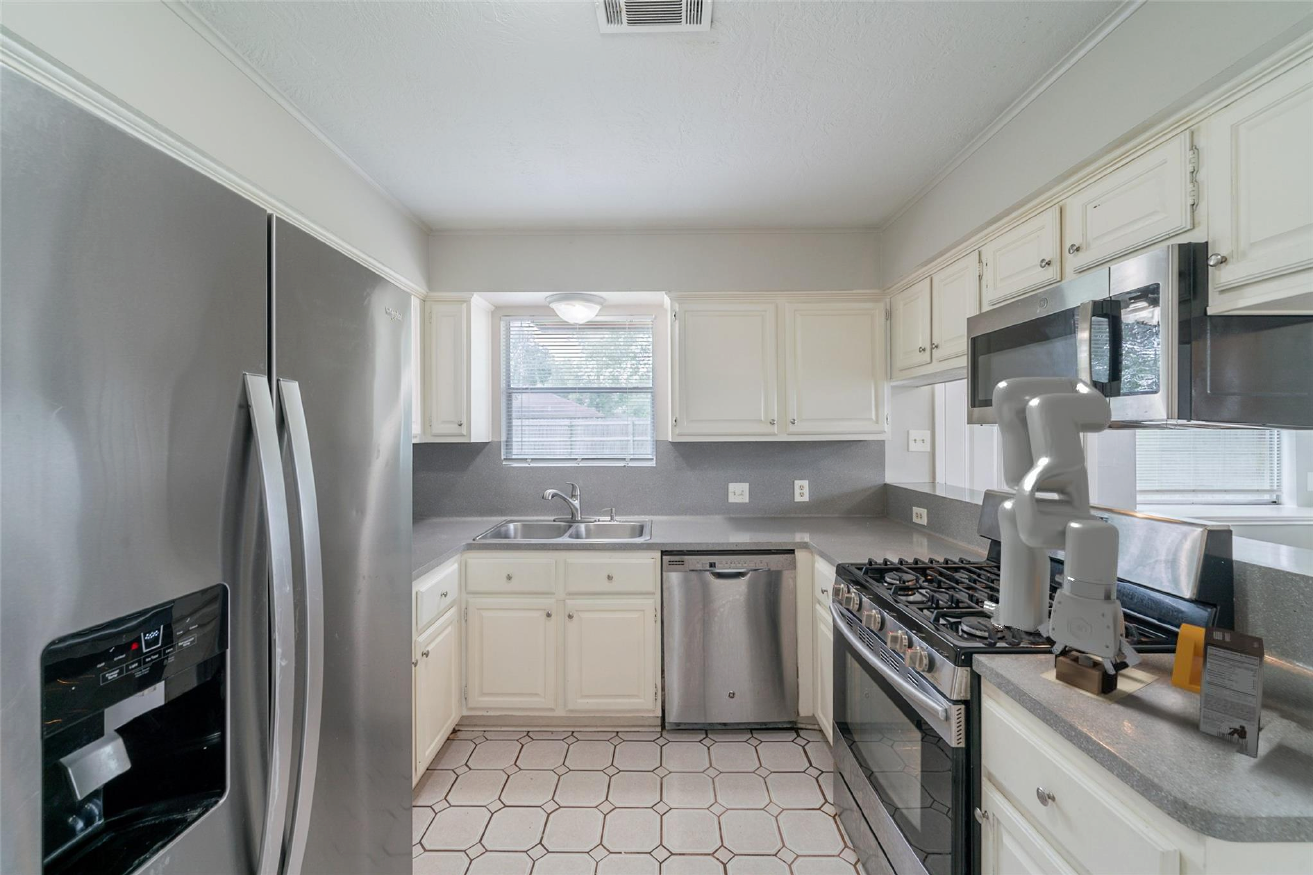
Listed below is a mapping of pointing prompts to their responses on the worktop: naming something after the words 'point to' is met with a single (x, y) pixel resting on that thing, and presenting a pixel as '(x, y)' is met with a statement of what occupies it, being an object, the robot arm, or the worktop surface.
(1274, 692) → the worktop surface
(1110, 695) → the board
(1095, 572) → the robot arm
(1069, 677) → the collar
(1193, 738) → the worktop surface
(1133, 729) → the worktop surface
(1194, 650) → the bracket
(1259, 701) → the coffee box
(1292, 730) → the worktop surface
